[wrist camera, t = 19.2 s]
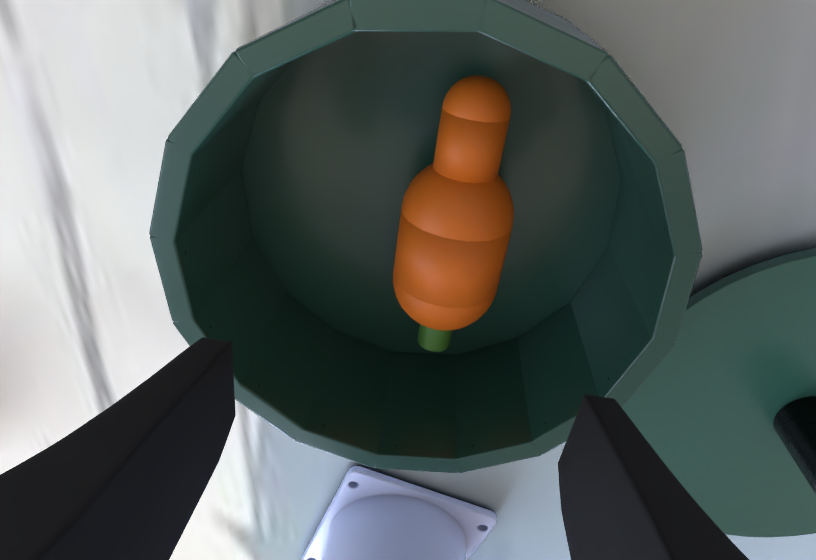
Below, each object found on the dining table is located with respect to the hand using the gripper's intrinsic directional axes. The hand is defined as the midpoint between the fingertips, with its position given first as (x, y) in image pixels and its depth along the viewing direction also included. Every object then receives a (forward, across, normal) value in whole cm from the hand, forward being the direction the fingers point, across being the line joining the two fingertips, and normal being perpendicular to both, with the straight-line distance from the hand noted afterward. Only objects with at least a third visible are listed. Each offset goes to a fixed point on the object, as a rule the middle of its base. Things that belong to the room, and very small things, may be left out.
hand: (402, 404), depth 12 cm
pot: (+10, 0, 0) cm, 10 cm away
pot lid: (+10, -16, +6) cm, 20 cm away
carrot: (+8, -3, 0) cm, 9 cm away
